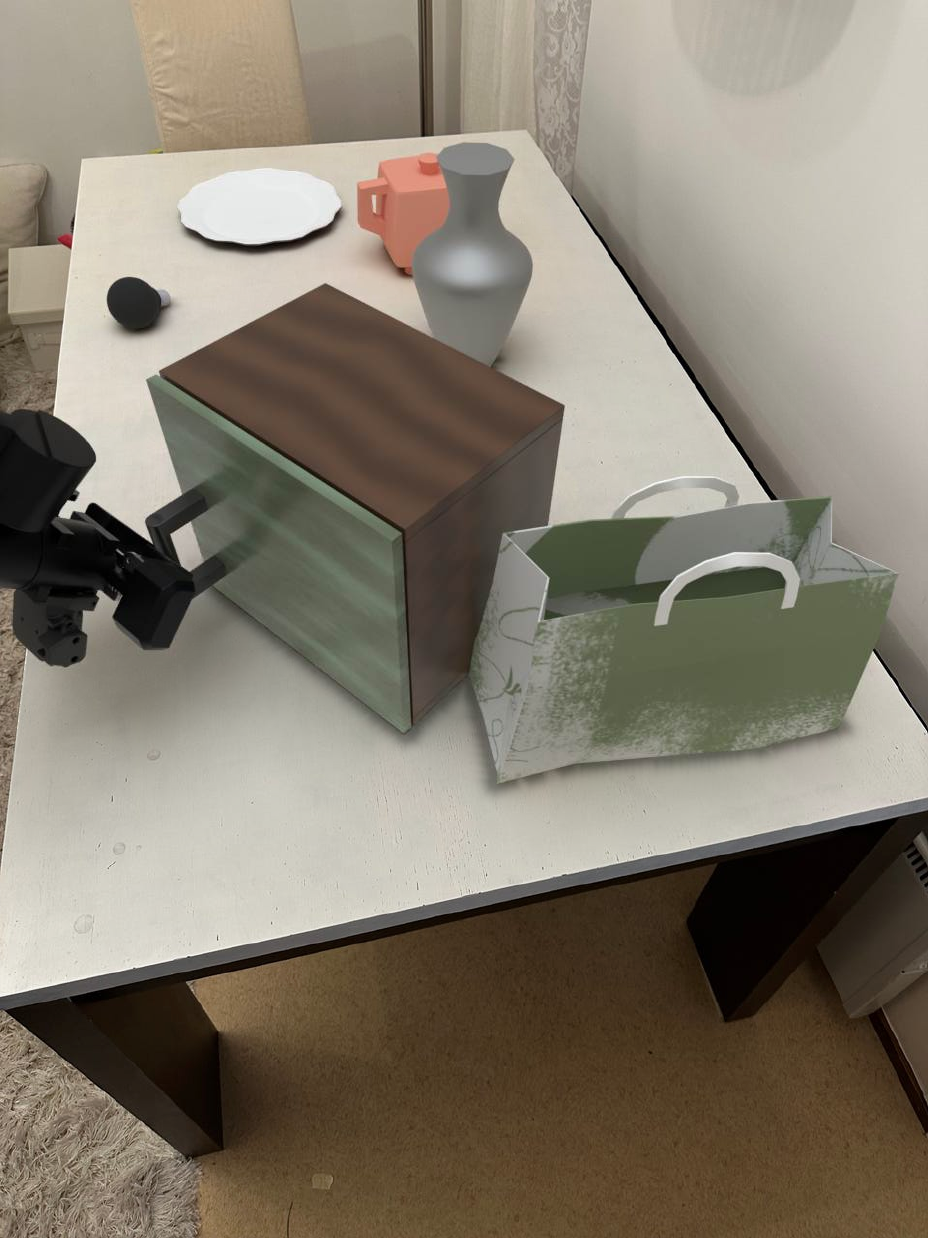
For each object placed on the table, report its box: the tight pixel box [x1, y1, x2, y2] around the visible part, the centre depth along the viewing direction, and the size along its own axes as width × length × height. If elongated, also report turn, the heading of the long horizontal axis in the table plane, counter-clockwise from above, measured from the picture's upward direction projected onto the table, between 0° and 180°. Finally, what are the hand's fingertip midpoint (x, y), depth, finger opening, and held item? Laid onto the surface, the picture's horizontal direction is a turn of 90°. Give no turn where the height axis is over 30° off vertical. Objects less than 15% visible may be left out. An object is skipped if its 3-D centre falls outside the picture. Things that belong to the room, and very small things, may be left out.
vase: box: [411, 141, 534, 368], centre depth 100 cm, size 14×14×25 cm
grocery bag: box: [468, 475, 899, 785], centre depth 68 cm, size 32×14×23 cm, turn 101°
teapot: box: [356, 152, 449, 276], centre depth 121 cm, size 22×13×14 cm, turn 108°
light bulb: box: [106, 276, 172, 330], centre depth 112 cm, size 6×6×10 cm
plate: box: [176, 167, 343, 247], centre depth 133 cm, size 25×25×2 cm
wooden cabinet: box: [158, 282, 566, 726], centre depth 75 cm, size 18×26×24 cm
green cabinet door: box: [144, 374, 412, 734], centre depth 69 cm, size 6×26×24 cm, turn 50°
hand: (177, 569), depth 75 cm, fingers open, 3 cm apart
